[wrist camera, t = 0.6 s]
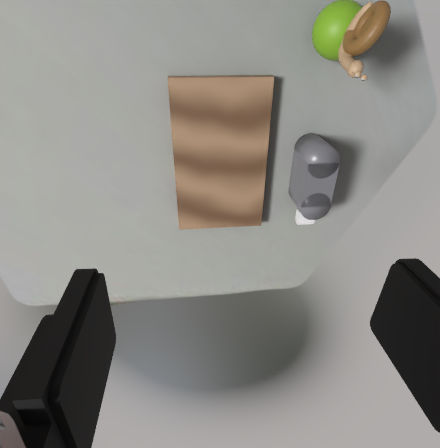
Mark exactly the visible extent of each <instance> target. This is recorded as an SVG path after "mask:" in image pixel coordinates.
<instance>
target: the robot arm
mask: <svg viewBox="0 0 440 448" xmlns="http://www.w3.org/2000/svg"><path fill="white" fill-rule="evenodd" d="M370 327H371V330H372V332H373V333H374V335H375V336H376V338H377V340H378V341H379V343H380V344H381V346H382V347H383V349H384V350H385V352H386V354H387V355H388V357H389V358H390V360H391V361H392V363H393V364H394V366H395V367H396V369H397V371H398V372H399V374H400V376H401V377H402V379H403V380H404V382H405V383H406V385H407V386H408V388H409V390H410V391H411V393H412V394H413V396H414V397H415V399H416V401H417V402H418V404H419V405H420V407H421V408H422V410H423V412H424V413H425V415H426V416H427V418H428V419H429V421H430V423H431V424H432V426H433V427H434V428H435V430H437V431H438V432H440V278H439V277H438V276H437V275H436V274H434V273H433V272H432V271H431V270H430V269H429V268H428V267H427V266H426V265H425V264H424V263H423V262H422V261H420V260H419V259H399V260H397V261H396V263H395V264H393V265H392V266H391V268H390V270H389V273H388V276H387V278H386V281H385V283H384V286H383V289H382V291H381V294H380V297H379V299H378V302H377V304H376V307H375V310H374V312H373V315H372V317H371V320H370ZM115 343H116V333H115V327H114V323H113V317H112V312H111V307H110V302H109V297H108V292H107V287H106V281H105V277H104V274H103V273H98V271H97V269H77V270H75V272H74V273H73V275H72V278H71V280H70V282H69V284H68V286H67V288H66V290H65V292H64V294H63V296H62V298H61V300H60V302H59V304H58V306H57V309H56V311H55V313H54V315H46V316H45V317H44V318H43V319H42V320H41V322H40V324H39V326H38V327H37V329H36V331H35V333H34V335H33V337H32V339H31V341H30V343H29V345H28V347H27V349H26V351H25V353H24V355H23V356H22V359H21V360H20V363H19V364H18V366H17V368H16V370H15V372H14V374H13V376H12V378H11V380H10V382H9V383H8V385H7V387H6V389H5V391H4V393H3V395H2V397H1V399H0V448H91V446H92V442H93V437H94V434H95V429H96V425H97V421H98V416H99V412H100V408H101V403H102V399H103V395H104V391H105V386H106V382H107V378H108V374H109V369H110V365H111V360H112V356H113V351H114V348H115Z"/></svg>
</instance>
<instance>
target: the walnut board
mask: <svg viewBox="0 0 440 448" xmlns="http://www.w3.org/2000/svg"><path fill="white" fill-rule="evenodd" d="M273 86H274V76H272V75H235V76H168V88H169V101H170V114H171V127H172V140H173V153H174V166H175V179H176V192H177V205H178V218H179V229H199V228H219V227H239V226H259V225H261V222H262V211H263V199H264V188H265V177H266V165H267V154H268V143H269V131H270V120H271V109H272V97H273Z"/></svg>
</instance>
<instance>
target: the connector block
mask: <svg viewBox="0 0 440 448" xmlns="http://www.w3.org/2000/svg"><path fill="white" fill-rule="evenodd" d="M339 166H340V154H339V152H338V151H337V150H336V149H335V148H333V147H332V146H331V145H330V144H328V143H327V142H326V141H325V140H324V139H322V138H321V137H320V136H319V135H317V134H313V133H309V134H306V135H303V136H302V137H301V138H300V139H299V140H298V141H297V142H296V144H295V147H294V154H293V162H292V169H291V176H290V184H289V195H290V196H291V198H292V200H293V201H294V203H295V204H296V206H297V211H296V217H295V221H296V223H297V225H299V224H314V220H317V219H320V218H322V217H323V216H325V215H326V214H327V213H328V211H329V209H330V207H331V202H332V198H333V193H334V188H335V184H336V179H337V175H338V170H339Z"/></svg>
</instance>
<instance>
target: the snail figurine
mask: <svg viewBox="0 0 440 448" xmlns="http://www.w3.org/2000/svg"><path fill="white" fill-rule="evenodd" d="M390 13H391V10H390V6H389V4H388V3H387V2H386V1H378V2H375V3H374V4H372V2H369V3H367V4H366V5H365V6H364V7H362V6H361V5H360V4H358V3H357V2H355V1H353V0H338V1H335V2H333V3H331V4H329V5H328V6H326V7H325V8H324V9H323V10H322V11H321V13H320V14H319V15H318V17H317V19H316V21H315V23H314V26H313V31H312V40H313V44H314V47H315V49H316V51H317V52H318V53H319V54H320V55H321V56H322V57H324V58H325V59H328V60H334V61H336V60H339V62H340V64H341V66H342V67H343V68H344V69H345V70H346V71H347V73H348V75H349V76H351V77H352V78H355V77H356V78H359V77H360V76H361V73H362V71H363V67H364V66H363V63H362V62H361V61H360V60H355V59H354V58H353V56H358V55H361V54H363V53H364V52H366V51H367V50H368V49H370V48H371V47H372V46H373V45H374V44H375V43H376V41H377V40H378V39H379V37H380V36H381V35H382V33H383V31H384V30H385V28H386V26H387V23H388V21H389V18H390ZM360 79H361V80H362V81H365V80H367V75H365V74H363V75H362V76H361V77H360Z"/></svg>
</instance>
